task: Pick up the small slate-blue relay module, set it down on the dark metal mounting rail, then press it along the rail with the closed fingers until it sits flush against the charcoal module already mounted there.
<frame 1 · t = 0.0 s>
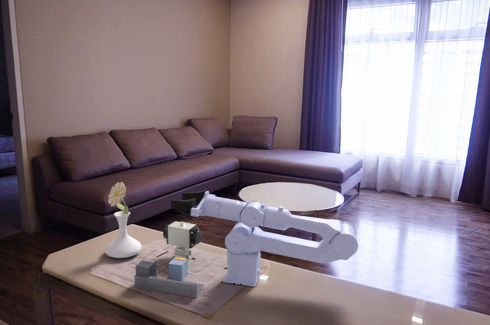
hand: (177, 199, 104), 22 cm above the counter, tool horizontal, fingers open, 7 cm apart
flower in vase: (124, 255, 117), on the counter
rail: (168, 288, 97), on the counter
pneumatic valve: (183, 257, 116), on the counter
module: (178, 277, 103), on the counter
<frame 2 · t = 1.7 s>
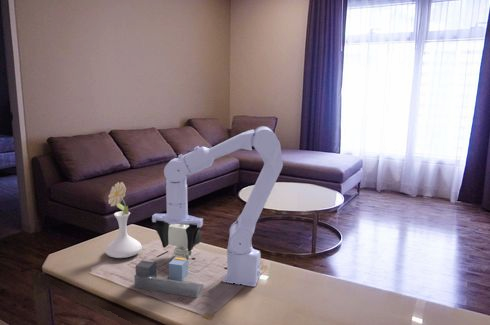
hand: (177, 247, 101), 9 cm above the counter, tool pointing down, fingers open, 7 cm apart
nothing on the counter moved.
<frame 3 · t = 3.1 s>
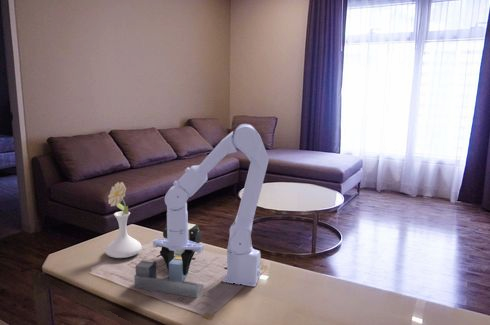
hand: (178, 272, 103), 1 cm above the counter, tool pointing down, fingers closed on module, 4 cm apart
module: (178, 277, 103), on the counter, touching gripper
everything else where it was.
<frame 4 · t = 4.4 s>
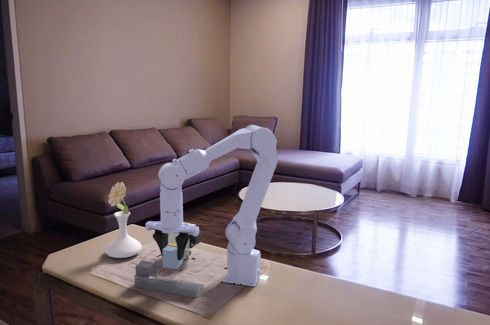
hand: (172, 257, 96), 9 cm above the counter, tool pointing down, fingers closed on module, 4 cm apart
module: (173, 264, 96), point 7 cm above the counter, touching gripper
everything else where it was.
when the fingers open (3 cm above the counter, at t = 5.7 s): module stays where it is, resting on rail.
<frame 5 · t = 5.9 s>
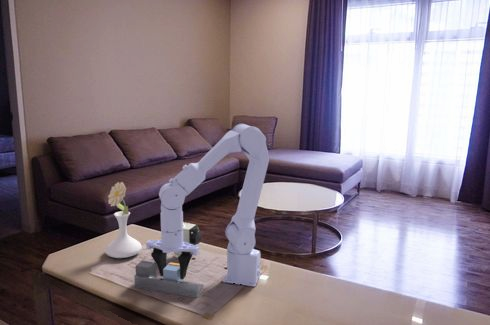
hand: (173, 275, 97), 3 cm above the counter, tool pointing down, fingers open, 5 cm apart
module: (173, 283, 97), point 1 cm above the counter, touching rail
everything else where it was.
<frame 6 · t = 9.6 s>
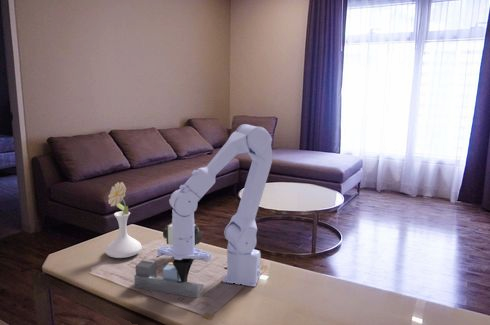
hand: (184, 282, 96), 2 cm above the counter, tool pointing down, fingers closed
module: (173, 283, 97), point 1 cm above the counter, touching gripper, rail
everything else where it was.
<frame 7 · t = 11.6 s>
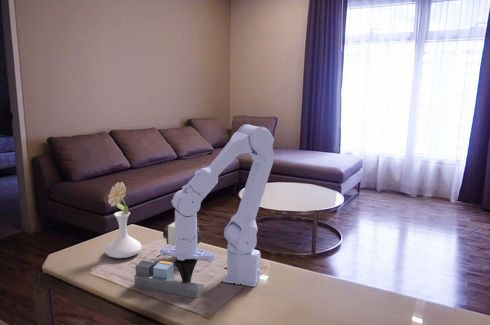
hand: (187, 282, 96), 2 cm above the counter, tool pointing down, fingers closed
module: (163, 282, 98), point 1 cm above the counter, touching rail
everything else where it was.
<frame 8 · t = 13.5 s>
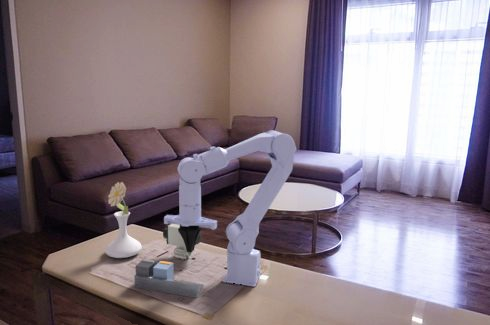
hand: (190, 250, 97), 10 cm above the counter, tool pointing down, fingers closed
nothing on the counter moved.
at the end: module 1.0 cm from the target spot on the rail, point 1.0 cm above the rail's base; module tilted 0°; the gripper is holding nothing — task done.
